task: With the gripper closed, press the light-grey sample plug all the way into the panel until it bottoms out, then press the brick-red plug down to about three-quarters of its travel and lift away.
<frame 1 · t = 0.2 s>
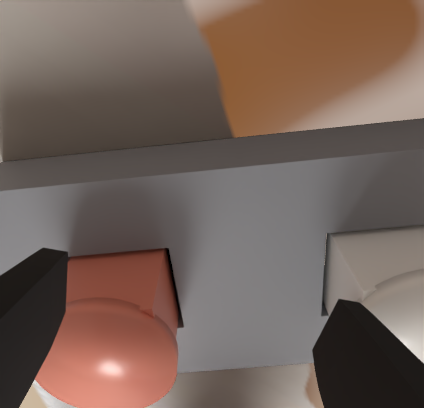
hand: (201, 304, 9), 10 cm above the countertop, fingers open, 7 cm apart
sample plug: (393, 297, 15), point 6 cm above the countertop, slide at 0.0 cm
plug panel: (242, 238, 20), on the countertop
red plug: (118, 319, 15), point 6 cm above the countertop, slide at 0.0 cm
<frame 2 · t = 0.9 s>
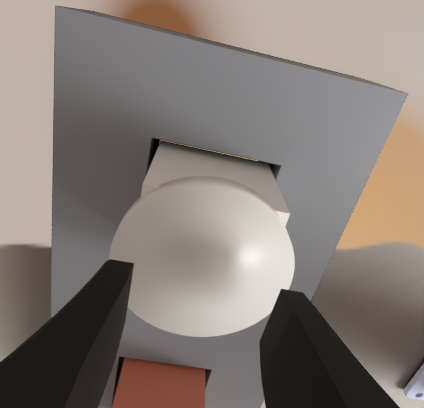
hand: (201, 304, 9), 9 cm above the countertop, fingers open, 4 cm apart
sample plug: (203, 229, 12), point 6 cm above the countertop, slide at 0.0 cm
plug panel: (183, 264, 20), on the countertop
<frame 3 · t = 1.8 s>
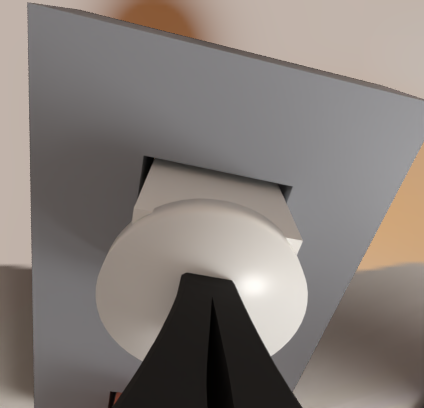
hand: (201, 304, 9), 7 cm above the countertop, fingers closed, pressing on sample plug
sample plug: (203, 253, 11), point 5 cm above the countertop, slide at 0.5 cm, touching gripper
plug panel: (181, 286, 18), on the countertop
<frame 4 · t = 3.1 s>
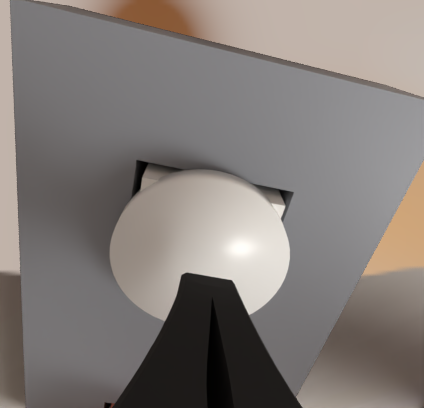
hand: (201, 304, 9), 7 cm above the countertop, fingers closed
sample plug: (201, 223, 13), point 3 cm above the countertop, slide at 2.9 cm
plug panel: (178, 293, 18), on the countertop
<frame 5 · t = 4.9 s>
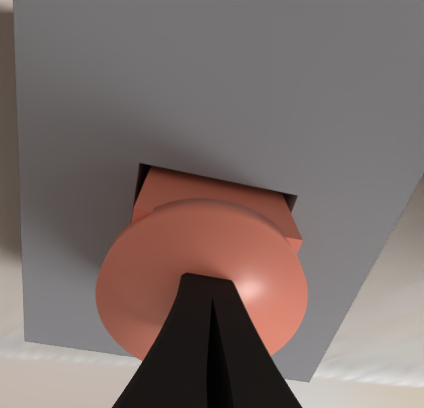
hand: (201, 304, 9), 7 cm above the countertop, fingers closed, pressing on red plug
plug panel: (239, 50, 12), on the countertop
red plug: (203, 252, 11), point 4 cm above the countertop, slide at 1.2 cm, touching gripper
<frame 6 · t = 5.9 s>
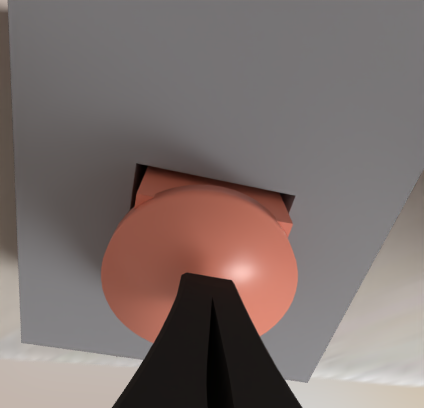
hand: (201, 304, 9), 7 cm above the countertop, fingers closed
plug panel: (236, 49, 12), on the countertop
red plug: (201, 239, 12), point 4 cm above the countertop, slide at 2.0 cm
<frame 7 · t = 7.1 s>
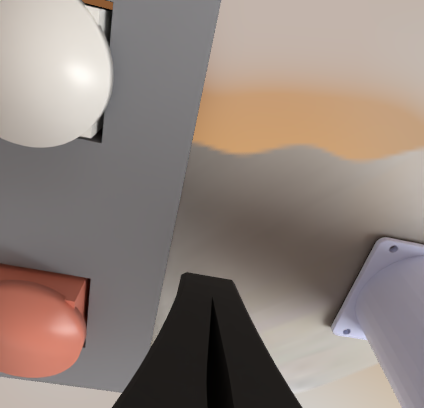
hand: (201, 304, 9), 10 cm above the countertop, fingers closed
sample plug: (51, 59, 13), point 3 cm above the countertop, slide at 2.9 cm
plug panel: (70, 172, 18), on the countertop
red plug: (42, 301, 18), point 4 cm above the countertop, slide at 2.0 cm
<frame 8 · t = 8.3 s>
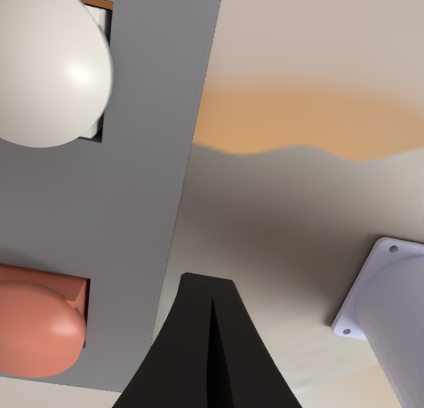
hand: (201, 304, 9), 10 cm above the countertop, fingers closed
sample plug: (51, 59, 13), point 3 cm above the countertop, slide at 2.9 cm
plug panel: (70, 172, 18), on the countertop
red plug: (42, 301, 18), point 4 cm above the countertop, slide at 2.0 cm
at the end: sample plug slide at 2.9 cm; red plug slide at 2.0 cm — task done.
